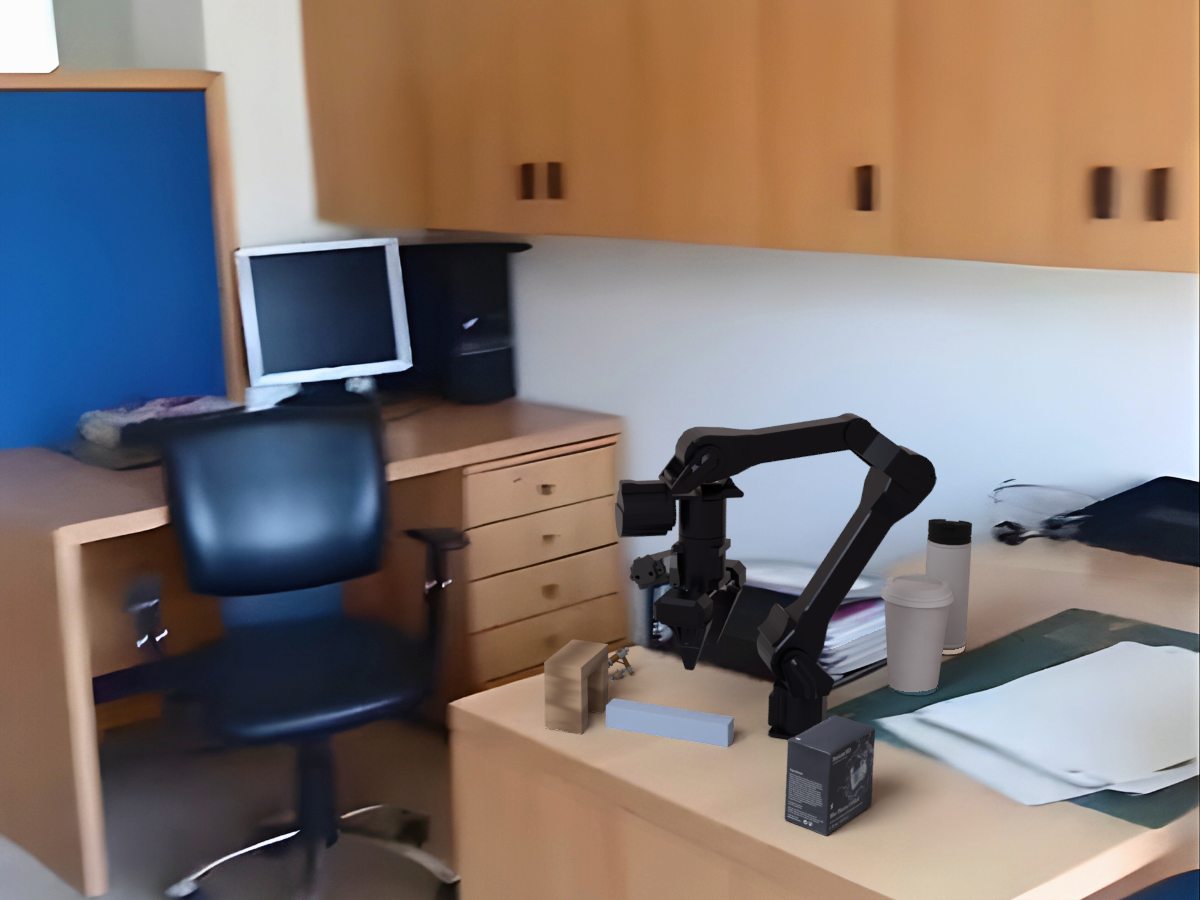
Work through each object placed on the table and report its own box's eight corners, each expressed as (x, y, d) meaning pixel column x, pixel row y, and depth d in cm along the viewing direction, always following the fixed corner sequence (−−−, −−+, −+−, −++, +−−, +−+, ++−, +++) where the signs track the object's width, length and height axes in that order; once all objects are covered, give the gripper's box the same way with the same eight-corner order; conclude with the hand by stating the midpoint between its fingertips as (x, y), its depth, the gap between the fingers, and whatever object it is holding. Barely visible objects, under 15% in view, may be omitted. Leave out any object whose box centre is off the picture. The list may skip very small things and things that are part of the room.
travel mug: (918, 653, 183) (925, 521, 179) (925, 639, 189) (931, 511, 185) (962, 658, 180) (970, 525, 177) (967, 644, 186) (974, 514, 183)
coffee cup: (963, 689, 169) (969, 583, 166) (919, 706, 163) (924, 597, 160) (905, 669, 177) (910, 567, 174) (862, 685, 171) (866, 580, 168)
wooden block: (608, 707, 163) (608, 644, 162) (581, 734, 155) (581, 667, 154) (573, 702, 165) (572, 639, 164) (545, 728, 157) (544, 662, 155)
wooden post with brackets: (641, 671, 174) (629, 645, 172) (594, 702, 171) (581, 676, 170) (635, 667, 176) (623, 641, 174) (588, 698, 173) (576, 672, 172)
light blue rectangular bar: (733, 741, 154) (734, 717, 153) (727, 749, 151) (728, 725, 151) (613, 721, 160) (613, 698, 159) (605, 729, 157) (605, 705, 157)
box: (827, 838, 130) (830, 753, 128) (782, 821, 133) (785, 738, 131) (873, 807, 136) (877, 726, 134) (830, 791, 140) (832, 712, 138)
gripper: (664, 510, 161) (664, 625, 164) (611, 546, 144) (611, 674, 147) (748, 517, 156) (746, 635, 159) (703, 556, 139) (702, 687, 142)
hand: (701, 656), depth 152 cm, fingers open, 9 cm apart
